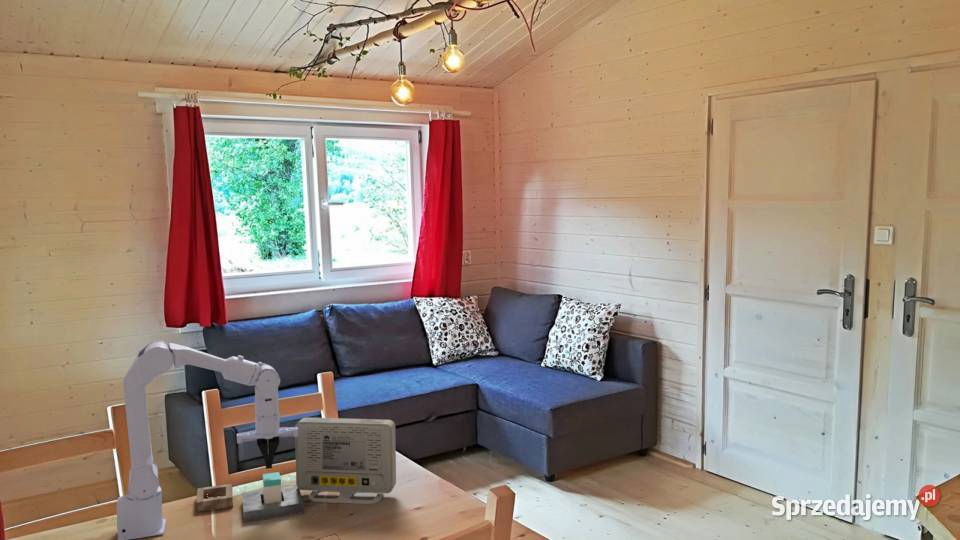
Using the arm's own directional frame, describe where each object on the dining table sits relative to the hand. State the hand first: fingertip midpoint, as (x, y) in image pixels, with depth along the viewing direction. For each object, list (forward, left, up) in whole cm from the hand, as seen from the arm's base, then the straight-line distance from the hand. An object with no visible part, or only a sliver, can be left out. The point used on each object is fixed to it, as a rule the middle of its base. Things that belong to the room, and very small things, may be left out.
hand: (268, 467), depth 171 cm
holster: (-13, +9, -10) cm, 19 cm away
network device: (+19, 0, -10) cm, 22 cm away
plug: (+1, 0, -10) cm, 10 cm away
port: (+1, 0, -10) cm, 10 cm away
